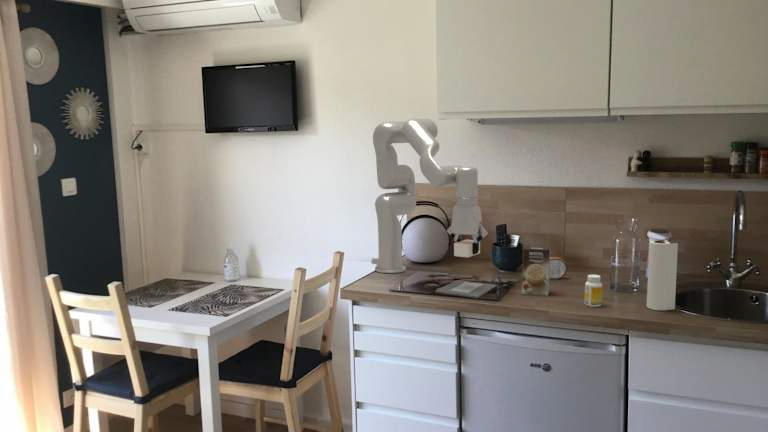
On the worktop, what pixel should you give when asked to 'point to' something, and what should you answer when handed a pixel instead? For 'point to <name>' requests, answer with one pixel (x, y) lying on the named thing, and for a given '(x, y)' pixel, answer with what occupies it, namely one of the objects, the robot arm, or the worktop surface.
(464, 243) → the card box
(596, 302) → the supplement bottle
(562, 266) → the tin
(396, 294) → the worktop surface
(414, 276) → the worktop surface
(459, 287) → the mat
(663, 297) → the paper towel roll
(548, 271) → the coffee box
